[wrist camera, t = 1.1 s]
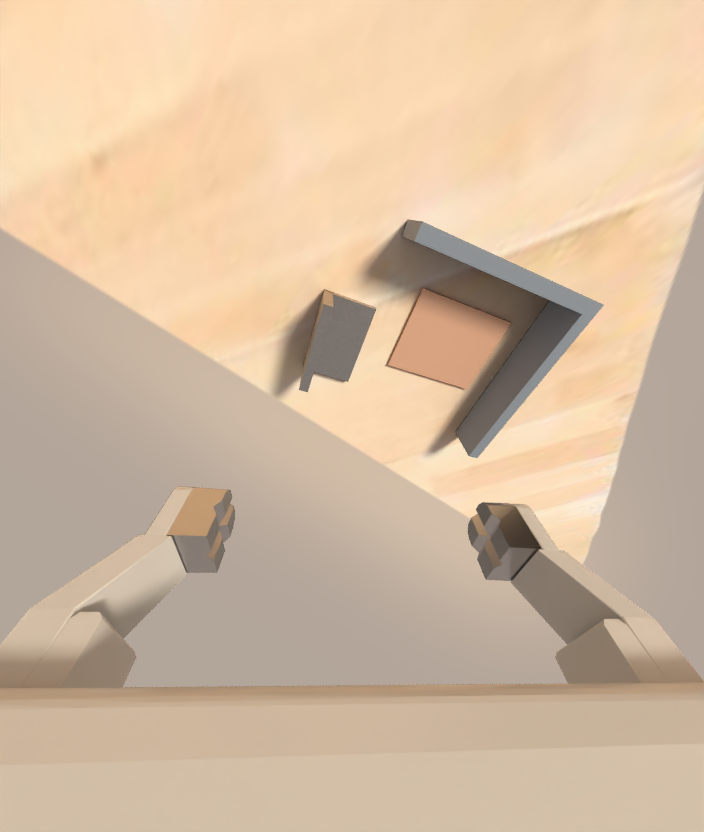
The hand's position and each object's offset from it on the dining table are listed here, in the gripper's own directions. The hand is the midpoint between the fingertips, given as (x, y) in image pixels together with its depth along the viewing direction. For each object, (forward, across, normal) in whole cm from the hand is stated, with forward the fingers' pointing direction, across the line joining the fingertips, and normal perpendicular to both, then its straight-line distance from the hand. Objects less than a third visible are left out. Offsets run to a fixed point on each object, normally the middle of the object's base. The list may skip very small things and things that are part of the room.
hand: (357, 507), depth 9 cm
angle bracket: (+22, +1, +2) cm, 22 cm away
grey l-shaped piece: (+22, -10, +2) cm, 25 cm away
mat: (+22, -11, +1) cm, 25 cm away
